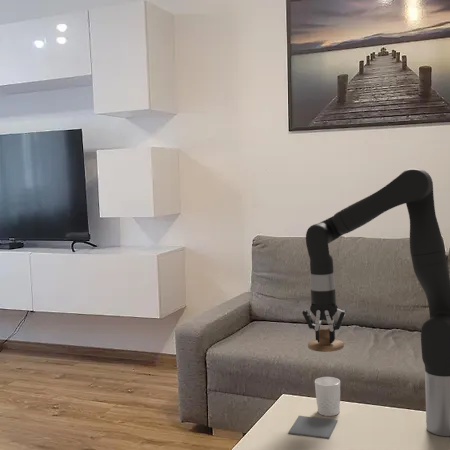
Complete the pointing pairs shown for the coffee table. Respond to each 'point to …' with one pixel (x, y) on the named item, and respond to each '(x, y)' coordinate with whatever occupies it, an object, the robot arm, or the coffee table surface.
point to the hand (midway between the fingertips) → (325, 341)
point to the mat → (313, 427)
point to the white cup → (328, 395)
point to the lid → (325, 342)
